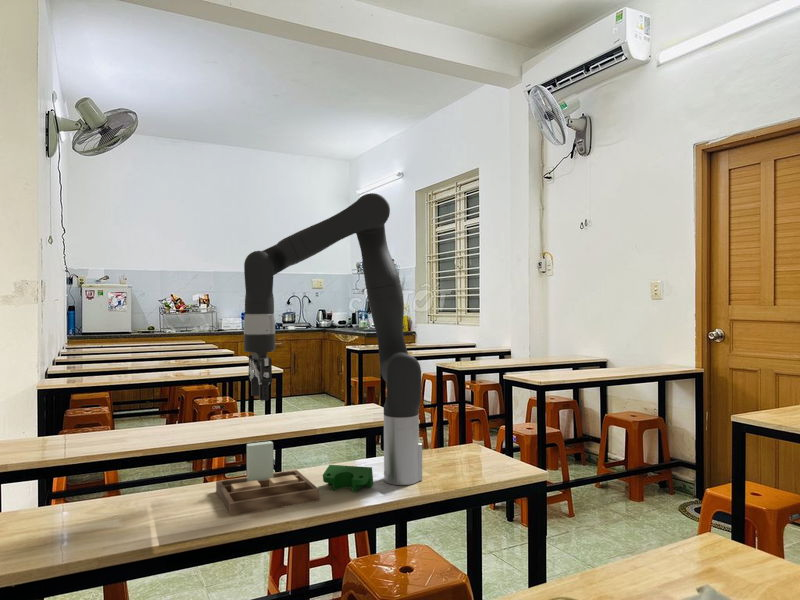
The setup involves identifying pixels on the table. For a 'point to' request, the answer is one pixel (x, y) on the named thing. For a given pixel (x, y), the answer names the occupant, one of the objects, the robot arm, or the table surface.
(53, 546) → the table surface
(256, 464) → the sheet
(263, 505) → the brown wooden compartment tray
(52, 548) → the table surface
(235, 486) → the offcut
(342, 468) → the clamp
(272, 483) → the offcut
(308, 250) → the robot arm
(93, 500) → the table surface
